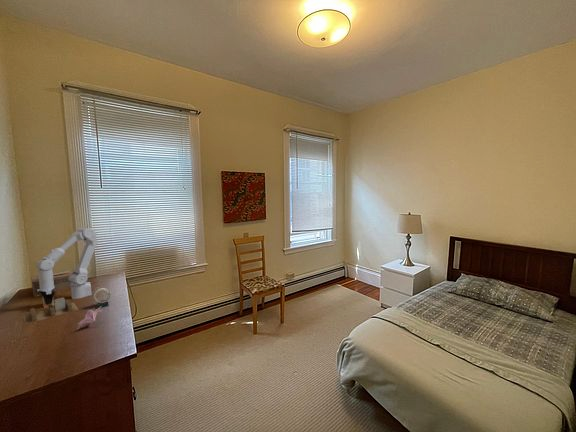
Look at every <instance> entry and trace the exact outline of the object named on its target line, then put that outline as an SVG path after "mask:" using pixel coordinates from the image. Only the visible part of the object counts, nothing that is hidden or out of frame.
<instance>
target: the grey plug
mask: <svg viewBox="0 0 576 432" xmlns="http://www.w3.org/2000/svg"><path fill="white" fill-rule="evenodd" d="M65 300H66V299H65V297H59V298H56V299H55V298H54V306H53V307H54V309H55V312H60V311H63V310H66V306H65Z"/></svg>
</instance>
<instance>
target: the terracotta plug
mask: <svg viewBox="0 0 576 432" xmlns="http://www.w3.org/2000/svg"><path fill="white" fill-rule="evenodd" d="M54 300H55V298H53V300H52V305H53V307H54ZM42 305H43V309H45V308H46V309H47V308H48V305H46V303H45V300H44V298H43V297H42Z"/></svg>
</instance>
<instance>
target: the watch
mask: <svg viewBox="0 0 576 432" xmlns="http://www.w3.org/2000/svg"><path fill="white" fill-rule="evenodd" d="M100 291H104V293H105V294H106V295H107V296H108V297H107V299H103V300H100V299H98V298H97V297H96V294H97V293H98V292H100ZM111 297H112V292H111V291H110V290H109V289H108V288H107V287H105V288H104V287H102V288H101V287H100V288H98V289H97V290H95V291H94V294H93V298H94V301H96V302H97V306H98V307H97V308H99V307H101V306H102V307H101V308H100V309H102V308H107V307H109V300H110V299H111Z"/></svg>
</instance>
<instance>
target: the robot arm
mask: <svg viewBox="0 0 576 432" xmlns="http://www.w3.org/2000/svg"><path fill="white" fill-rule="evenodd" d="M77 241H83V242H84V243H85V245H84V248H83V250H82V253H81V255H80V257H79V261H78V262H77V266H76V267H75V268H74V269H72V270H73V272H72V274H71V275H70V276H69V278H68V279H69V281H70V282H71V289H70V292H71V293H70V294H71V299H74V300H77V299H82V298H85V297H89V296H93V295H92V285H91V282H90V281H88V273H89V271H88V268H89V265H90V262H91V260H92V257H93V254H94V252H95V249H96V246H97V244H98V240H97V232H96V231H94V229H93V228H91V227H89V228H87V227H80V228H78V229H77V230H75V231H74V232H73V233H72V235H70V236H69V237H68V238H67V239H66V240H65V241H64V242H63V243H62V244H61V245H60V246H59V247H54V248H53V249H51V250H50V252H49V253H48V254H47V255H45V256H43V257H42V259H39V260H38V261H37V262H36V264H35V267H36V269H38V274H37V275H38V276H39V285H40V289H37V291H40V293H41V297H42V299H43V298H44V300H45V303H46V305H48V304H51V303H52V300H53V299H54V297H55V293H56V292H55V291H53V290H54V288H55V286H54V280H53V273H54V271H53V268H54V266H55V263H57V262H58V261H59V260H60V259H62V257H63V256H65V254H66V251H67V250H68V249H69V248H71V247H72V246H73V245H74V244H75V243H76V242H77Z"/></svg>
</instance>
